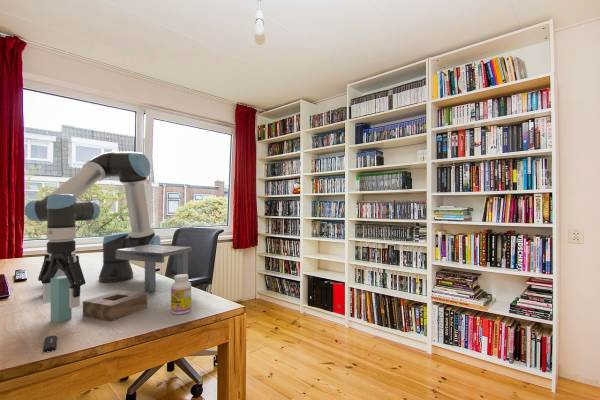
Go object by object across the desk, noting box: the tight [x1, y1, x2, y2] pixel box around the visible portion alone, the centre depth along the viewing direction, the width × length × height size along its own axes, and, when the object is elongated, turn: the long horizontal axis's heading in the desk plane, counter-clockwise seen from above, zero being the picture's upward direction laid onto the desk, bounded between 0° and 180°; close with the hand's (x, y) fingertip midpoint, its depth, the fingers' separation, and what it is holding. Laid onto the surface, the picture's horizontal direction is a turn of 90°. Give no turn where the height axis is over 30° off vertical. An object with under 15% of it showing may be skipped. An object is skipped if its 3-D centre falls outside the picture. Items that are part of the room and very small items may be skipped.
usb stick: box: [42, 335, 58, 353], centre depth 83 cm, size 10×3×2 cm, turn 37°
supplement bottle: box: [170, 274, 192, 316], centre depth 108 cm, size 7×7×13 cm
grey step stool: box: [116, 244, 193, 293], centre depth 125 cm, size 24×16×20 cm, turn 69°
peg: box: [50, 276, 73, 324], centre depth 101 cm, size 4×4×14 cm
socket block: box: [82, 289, 148, 322], centre depth 109 cm, size 14×14×5 cm
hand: (61, 304), depth 101 cm, fingers open, 13 cm apart
